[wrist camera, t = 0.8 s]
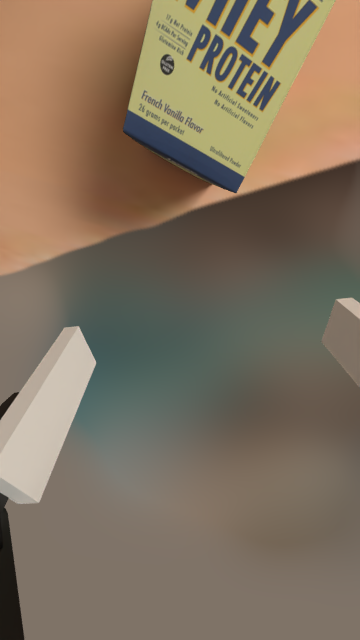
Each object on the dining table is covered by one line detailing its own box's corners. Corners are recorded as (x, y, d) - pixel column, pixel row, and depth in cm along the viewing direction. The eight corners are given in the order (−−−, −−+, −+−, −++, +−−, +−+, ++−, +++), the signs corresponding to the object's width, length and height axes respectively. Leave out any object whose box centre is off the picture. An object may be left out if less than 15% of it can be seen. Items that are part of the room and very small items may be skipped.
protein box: (145, 150, 29) (119, 133, 16) (195, -33, 21) (224, -344, 8) (212, 187, 32) (237, 197, 19) (281, 35, 24) (403, -126, 11)
